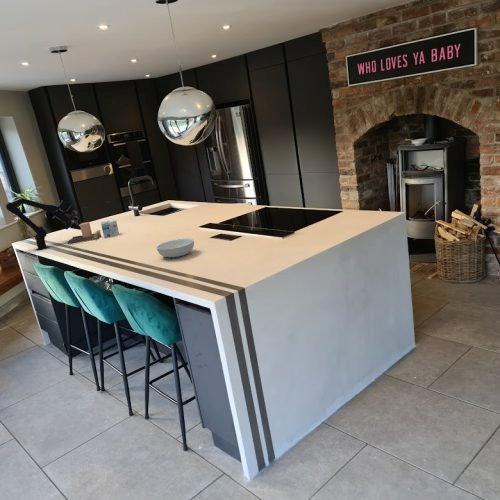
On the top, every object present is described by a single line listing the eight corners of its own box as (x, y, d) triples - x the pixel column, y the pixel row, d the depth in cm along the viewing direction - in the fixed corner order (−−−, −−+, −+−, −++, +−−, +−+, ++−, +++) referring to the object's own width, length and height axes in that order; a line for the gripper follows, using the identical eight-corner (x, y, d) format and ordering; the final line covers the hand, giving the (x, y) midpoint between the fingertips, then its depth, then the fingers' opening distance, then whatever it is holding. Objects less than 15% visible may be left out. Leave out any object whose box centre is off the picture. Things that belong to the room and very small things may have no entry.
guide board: (97, 239, 335) (95, 233, 334) (67, 244, 335) (66, 237, 334) (101, 235, 346) (99, 229, 345) (72, 240, 345) (71, 234, 344)
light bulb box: (104, 238, 336) (100, 223, 333) (104, 236, 343) (100, 222, 340) (119, 235, 339) (116, 220, 336) (119, 233, 345) (116, 219, 342)
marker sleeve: (90, 237, 337) (86, 223, 334) (83, 238, 337) (79, 224, 334) (92, 235, 343) (89, 222, 340) (85, 236, 343) (82, 223, 340)
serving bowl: (197, 247, 274) (195, 236, 273) (194, 258, 254) (192, 245, 252) (161, 252, 275) (159, 241, 273) (155, 263, 254) (153, 251, 253)
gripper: (64, 210, 325) (84, 223, 328) (72, 205, 343) (91, 217, 346) (56, 223, 327) (76, 236, 330) (64, 217, 345) (83, 229, 348)
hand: (82, 229), depth 338 cm, fingers closed, pressing on marker sleeve
